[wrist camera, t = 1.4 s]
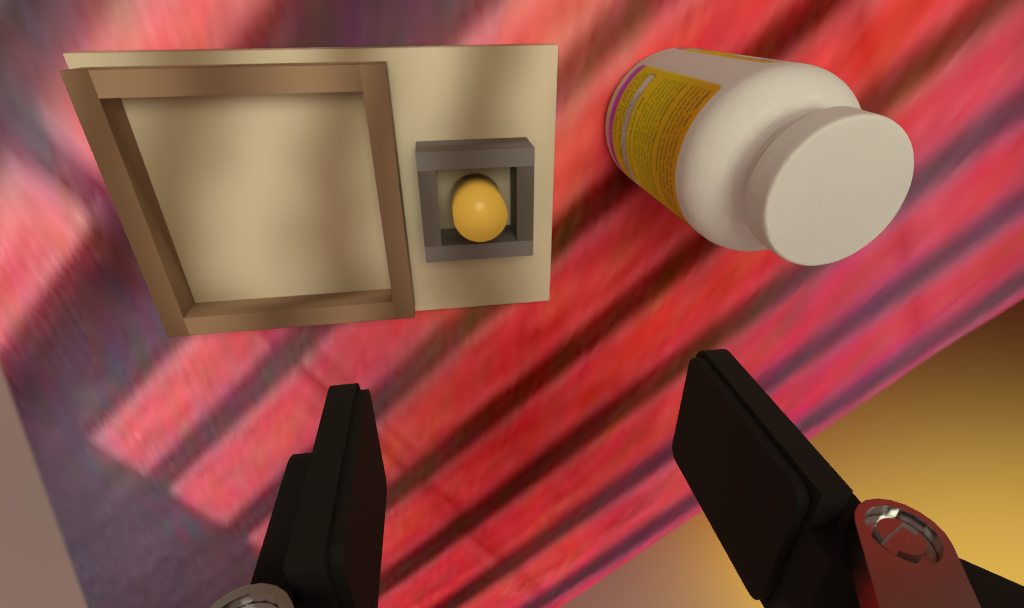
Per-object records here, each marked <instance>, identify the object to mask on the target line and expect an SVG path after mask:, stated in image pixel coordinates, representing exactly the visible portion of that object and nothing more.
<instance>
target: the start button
mask: <svg viewBox="0 0 1024 608" xmlns="http://www.w3.org/2000/svg"><path fill="white" fill-rule="evenodd" d="M451 205H452V212H453V220H454V224H455V227H456V229H457V230H458V232H459V233H460V234H461V235H462V236H463V237H465V238H467V239H468V240H471V241H475V242H485V241H489V240H491V239H493V238H495V237H497V236H498V235H499V234H500V233H501V232H502V231H503V229H504V228H505V225H506V223H507V218H508V213H507V208H506V205H505V203H504V200H503V198H502V195H501V193H500V191H499V188H498V186H497V184H496V183H495V182H494V181H493V180H492V179H491V178H490V177H488V176H486V175H483V174H479V173H473V174H468V175H465V176H463V177H462V178H460V179H459V180H458V181H457V182H456V183H455V185H454V187H453V189H452V192H451Z"/></svg>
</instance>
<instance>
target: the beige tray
mask: <svg viewBox="0 0 1024 608" xmlns="http://www.w3.org/2000/svg"><path fill="white" fill-rule="evenodd" d="M63 55H64V58H65V60H66V63H67V65H68V68H69V69H68V70H62V71H59V72H60V74H61V77H62V79H63V82H64V84H65V86H66V89H67V91H68V94H69V96H70V99H71V101H72V104H73V106H74V108H75V111H76V113H77V116H78V118H79V121H80V123H81V125H82V128H83V130H84V133H85V135H86V138H87V140H88V143H89V145H90V147H91V150H92V152H93V155H94V157H95V160H96V162H97V164H98V167H99V169H100V172H101V174H102V177H103V179H104V182H105V184H106V186H107V189H108V191H109V194H110V196H111V199H112V201H113V204H114V206H115V208H116V211H117V213H118V216H119V218H120V221H121V223H122V225H123V228H124V230H125V233H126V235H127V238H128V240H129V243H130V245H131V247H132V250H133V252H134V255H135V257H136V260H137V262H138V264H139V267H140V269H141V272H142V274H143V277H144V279H145V282H146V284H147V286H148V289H149V291H150V294H151V296H152V299H153V301H154V303H155V306H156V308H157V311H158V313H159V316H160V318H161V321H162V323H163V325H164V328H165V330H166V333H167V335H168V337H176V336H189V335H201V334H214V333H226V332H238V331H251V330H263V329H276V328H288V327H300V326H313V325H325V324H338V323H350V322H362V321H375V320H387V319H400V318H412V317H415V311H423V310H435V309H448V308H461V307H473V306H486V305H499V304H511V303H524V302H536V301H549V297H550V268H551V238H552V208H553V179H554V149H555V120H556V90H557V61H558V45H555V44H501V45H441V46H380V47H319V48H258V49H197V50H137V51H80V52H71V53H63ZM473 173H479V174H483V175H486V176H488V177H490V178H491V179H492V180H493V181H494V182H495V183H496V184H497V186H498V188H499V191H500V193H501V195H502V198H503V200H504V203H505V205H506V208H507V213H508V218H507V223H506V225H505V228H504V229H503V231H502V232H501V233H500V234H499V235H498V236H497V237H495V238H493V239H491V240H489V241H485V242H475V241H471V240H468V239H467V238H465V237H463V236H462V235H461V234H460V233H459V232H458V230H457V229H456V227H455V224H454V220H453V212H452V205H451V192H452V189H453V187H454V185H455V183H456V182H457V181H458V180H459V179H460V178H462V177H463V176H465V175H468V174H473Z"/></svg>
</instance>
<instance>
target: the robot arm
mask: <svg viewBox="0 0 1024 608" xmlns="http://www.w3.org/2000/svg"><path fill="white" fill-rule="evenodd" d="M672 451H673V455H674V459H675V461H676V463H677V465H678V466H679V468H680V470H681V472H682V474H683V475H684V477H685V479H686V481H687V483H688V484H689V486H690V488H691V490H692V492H693V493H694V495H695V497H696V499H697V501H698V502H699V504H700V506H701V508H702V510H703V511H704V513H705V515H706V517H707V519H708V520H709V522H710V524H711V526H712V528H713V529H714V531H715V533H716V535H717V537H718V539H719V540H720V542H721V544H722V546H723V547H724V549H725V551H726V553H727V555H728V557H729V558H730V560H731V562H732V564H733V565H734V567H735V569H736V571H737V573H738V575H739V576H740V578H741V580H742V582H743V583H744V585H745V587H746V589H747V591H748V592H749V594H750V595H751V596H752V598H753V599H755V600H760V601H761V603H762V604H763V606H764V608H1024V586H1022V585H1019V584H1017V583H1015V582H1013V581H1010V580H1008V579H1006V578H1003V577H1001V576H999V575H997V574H994V573H992V572H990V571H988V570H985V569H983V568H981V567H978V566H976V565H974V564H971V563H969V562H967V561H965V560H963V559H960V558H958V555H957V553H956V551H955V549H954V547H953V545H952V543H951V542H950V540H949V538H948V537H947V535H946V534H945V533H944V532H943V531H942V530H941V529H940V528H939V527H938V526H937V525H936V524H935V523H934V522H933V521H932V520H930V519H929V518H927V517H926V516H924V515H923V514H922V513H920V512H918V511H916V510H914V509H913V508H910V507H909V506H907V505H904V504H901V503H898V502H895V501H892V500H884V499H870V500H865V501H864V502H862V503H861V502H860V501H859V500H858V498H857V497H856V496H855V495H854V494H853V493H852V492H853V491H852V489H851V488H850V487H849V486H848V485H847V484H846V483H845V481H844V480H843V479H842V478H841V477H840V476H839V475H838V474H837V472H836V471H835V470H834V469H833V468H832V467H831V466H830V465H829V463H828V462H827V461H826V460H825V459H824V458H823V457H822V456H821V454H820V453H819V452H818V451H817V450H816V449H815V448H814V447H813V445H812V444H811V443H810V442H809V441H808V440H807V439H806V438H805V436H804V435H803V434H802V433H801V432H800V431H799V430H798V429H797V427H796V426H795V425H794V424H793V423H792V422H791V421H790V420H789V418H788V417H787V416H786V415H785V414H784V413H783V412H782V411H781V409H780V408H779V407H778V406H777V405H776V404H775V403H774V402H773V400H772V399H771V398H770V397H769V396H768V395H767V394H766V393H765V391H764V390H763V389H762V388H761V387H760V386H759V385H758V384H757V382H756V381H755V380H754V379H753V378H752V377H751V376H750V375H749V373H748V372H747V371H746V370H745V369H744V368H743V367H742V366H741V364H740V363H739V362H738V361H737V360H736V359H735V358H734V357H733V355H732V354H731V353H730V352H729V351H728V350H726V349H717V350H707V351H700V352H698V354H697V355H696V358H693V359H691V360H690V362H689V366H688V371H687V376H686V381H685V386H684V390H683V395H682V400H681V405H680V410H679V415H678V419H677V424H676V429H675V434H674V439H673V444H672ZM386 496H387V485H386V476H385V471H384V465H383V460H382V454H381V449H380V444H379V438H378V433H377V427H376V422H375V417H374V411H373V406H372V400H371V395H370V391H369V389H366V390H360V386H359V384H358V383H355V384H344V385H334V386H330V387H329V390H328V393H327V397H326V401H325V405H324V409H323V413H322V417H321V420H320V424H319V428H318V432H317V436H316V440H315V444H314V448H313V452H312V453H303V454H294V455H292V456H291V457H290V459H289V461H288V464H287V466H286V470H285V473H284V476H283V479H282V483H281V486H280V489H279V493H278V496H277V499H276V502H275V506H274V509H273V512H272V516H271V519H270V522H269V525H268V529H267V532H266V535H265V539H264V542H263V545H262V548H261V552H260V555H259V558H258V561H257V565H256V568H255V571H254V575H253V578H252V581H251V584H250V585H247V586H244V587H242V588H239V589H237V590H234V591H232V592H230V593H229V594H227V595H226V596H224V597H223V598H221V599H219V600H218V601H216V602H215V603H214V604H213V605H212V606H211V607H210V608H378V596H379V583H380V571H381V558H382V546H383V534H384V521H385V509H386Z"/></svg>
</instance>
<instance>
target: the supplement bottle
mask: <svg viewBox="0 0 1024 608" xmlns="http://www.w3.org/2000/svg"><path fill="white" fill-rule="evenodd" d="M605 132H606V141H607V145H608V149H609V151H610V154H611V156H612V158H613V160H614V162H615V163H616V165H617V166H618V167H619V169H620V170H621V171H622V172H623V173H624V174H625V175H627V176H628V177H629V178H630V179H631V180H633V181H634V182H635V183H636V184H638V185H639V186H640V187H641V188H643V189H644V190H645V191H647V192H648V193H649V194H650V195H652V196H653V197H654V198H655V199H657V200H658V201H659V202H660V203H662V204H663V205H664V206H666V207H667V208H668V209H669V210H670V211H672V212H673V213H674V214H676V215H677V216H678V217H679V218H681V219H682V220H683V221H684V222H685V223H687V224H688V225H689V226H691V227H692V228H693V229H694V230H695V231H697V232H698V233H699V234H700V235H702V236H703V237H705V238H706V239H707V240H709V241H711V242H713V243H714V244H716V245H719V246H722V247H725V248H728V249H732V250H737V251H761V250H767V249H769V250H771V251H772V252H774V253H775V254H777V255H778V256H780V257H781V258H783V259H785V260H787V261H789V262H792V263H795V264H799V265H805V266H816V265H824V264H829V263H832V262H835V261H839V260H841V259H843V258H846V257H848V256H850V255H852V254H854V253H855V252H857V251H859V250H860V249H861V248H863V247H864V246H866V245H867V244H868V243H870V242H871V241H872V240H873V239H874V238H876V237H877V236H878V235H879V234H880V233H881V232H882V231H883V230H884V229H885V228H886V227H887V225H888V224H889V223H890V222H891V221H892V219H893V218H894V216H895V215H896V214H897V212H898V210H899V209H900V207H901V205H902V203H903V201H904V199H905V197H906V195H907V193H908V190H909V188H910V185H911V181H912V177H913V169H914V155H913V149H912V144H911V142H910V140H909V137H908V136H907V134H906V133H905V131H904V130H903V129H902V128H901V127H900V126H899V125H898V124H897V123H895V122H894V121H893V120H891V119H889V118H887V117H884V116H881V115H878V114H875V113H871V112H868V111H864V110H861V108H860V105H859V103H858V101H857V99H856V97H855V95H854V94H853V92H852V91H851V89H850V88H849V87H848V86H847V85H846V84H845V83H844V82H843V81H842V80H841V79H839V78H838V77H837V76H835V75H834V74H832V73H831V72H829V71H827V70H825V69H823V68H820V67H817V66H814V65H809V64H804V63H797V62H790V61H782V60H774V59H767V58H759V57H752V56H745V55H738V54H732V53H724V52H718V51H710V50H704V49H696V48H670V49H665V50H662V51H659V52H656V53H654V54H652V55H650V56H648V57H646V58H645V59H643V60H642V61H640V62H639V63H638V64H636V65H635V66H634V67H633V68H632V69H631V70H630V71H629V72H628V73H627V74H626V75H625V76H624V78H623V79H622V80H621V82H620V83H619V85H618V86H617V88H616V90H615V92H614V94H613V96H612V98H611V101H610V104H609V107H608V110H607V116H606V125H605Z"/></svg>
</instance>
